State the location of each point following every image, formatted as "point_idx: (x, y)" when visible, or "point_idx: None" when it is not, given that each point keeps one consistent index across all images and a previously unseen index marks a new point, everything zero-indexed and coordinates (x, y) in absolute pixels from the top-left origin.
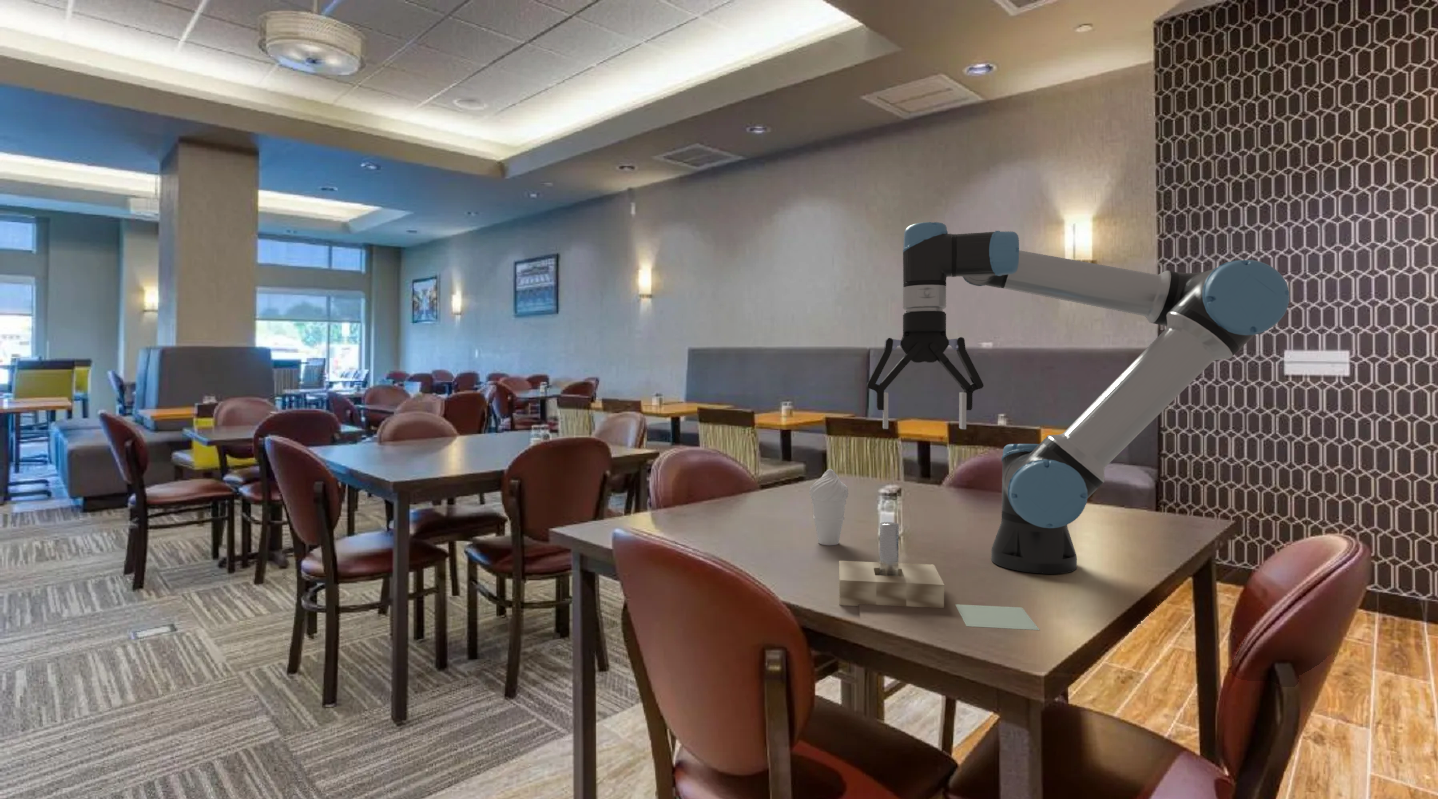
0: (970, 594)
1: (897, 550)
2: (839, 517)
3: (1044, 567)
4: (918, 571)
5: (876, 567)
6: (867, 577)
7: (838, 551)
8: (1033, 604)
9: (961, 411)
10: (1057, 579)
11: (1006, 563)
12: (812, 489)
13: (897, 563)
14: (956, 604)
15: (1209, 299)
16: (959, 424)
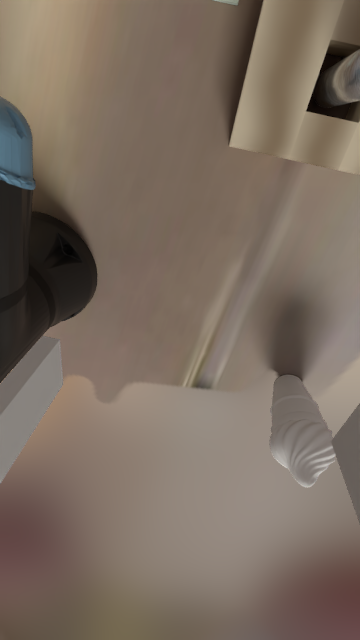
0: (181, 99)
1: (352, 54)
2: (285, 400)
3: (35, 214)
4: (281, 87)
5: (351, 125)
6: None
7: (291, 348)
8: (94, 27)
9: (17, 405)
10: None
11: (83, 247)
12: None
13: (340, 62)
14: (235, 3)
15: None
16: (55, 389)
